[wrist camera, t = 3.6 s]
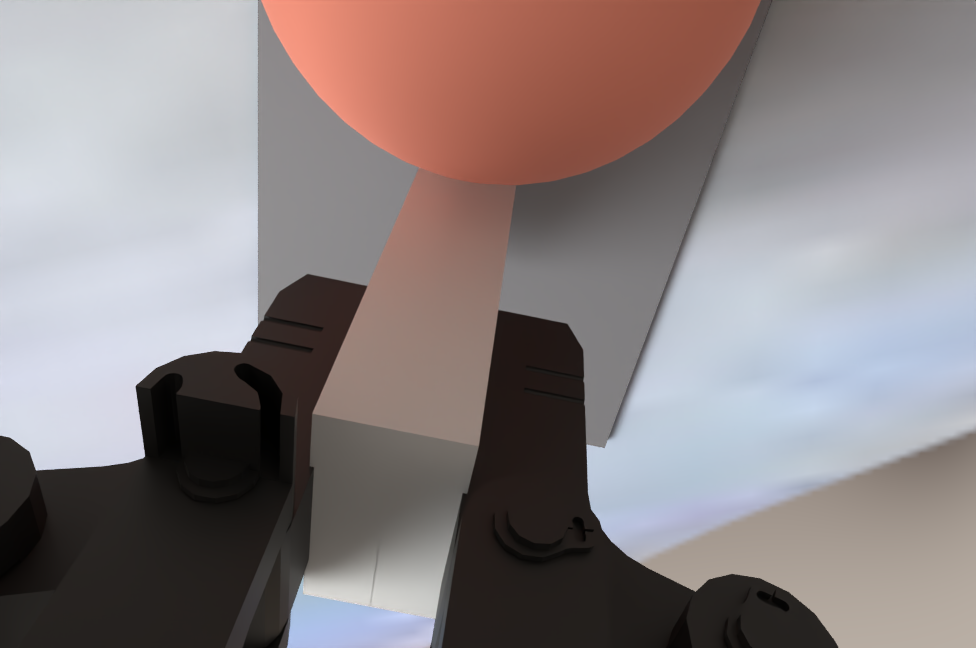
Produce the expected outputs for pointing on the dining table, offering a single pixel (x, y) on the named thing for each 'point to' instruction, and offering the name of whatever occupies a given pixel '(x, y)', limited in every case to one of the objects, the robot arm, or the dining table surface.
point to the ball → (510, 76)
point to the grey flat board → (534, 223)
